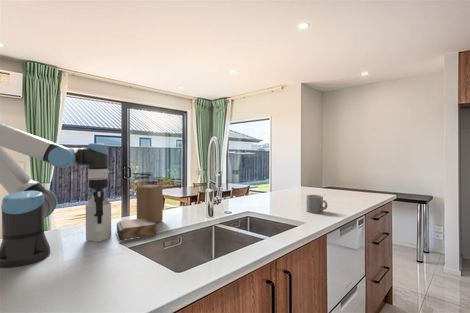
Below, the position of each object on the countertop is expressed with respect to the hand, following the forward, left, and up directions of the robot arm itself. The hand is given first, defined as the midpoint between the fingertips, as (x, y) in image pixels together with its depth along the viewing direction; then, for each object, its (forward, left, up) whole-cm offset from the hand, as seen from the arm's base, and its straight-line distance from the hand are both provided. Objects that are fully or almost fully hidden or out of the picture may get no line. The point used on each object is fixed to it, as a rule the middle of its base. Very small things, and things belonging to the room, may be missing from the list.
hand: (98, 227), depth 113 cm
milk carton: (0, 0, -6) cm, 6 cm away
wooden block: (+25, +16, -6) cm, 30 cm away
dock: (+16, 0, -5) cm, 17 cm away
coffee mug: (+122, -12, -6) cm, 123 cm away
